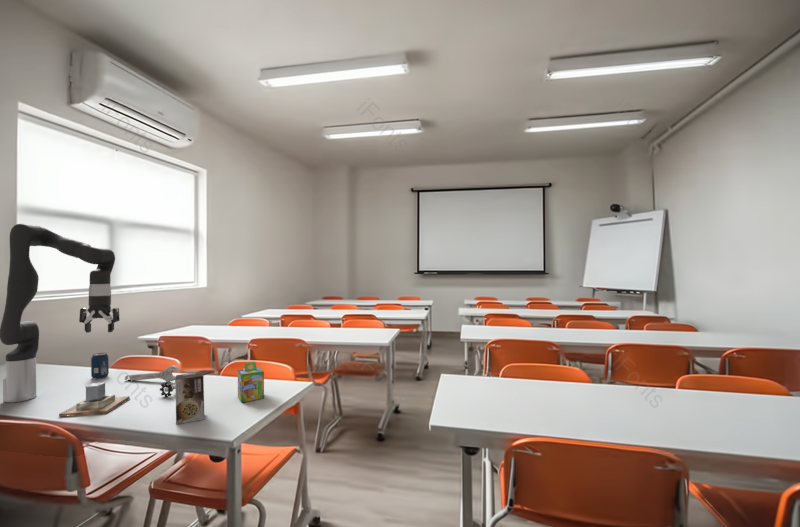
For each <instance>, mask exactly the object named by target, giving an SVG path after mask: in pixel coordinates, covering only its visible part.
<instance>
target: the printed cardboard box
mask: <svg viewBox="0 0 800 527" xmlns="http://www.w3.org/2000/svg"><path fill="white" fill-rule="evenodd" d="M175 376H176V378H175V380H174V385H175V389H174V390H175V391H174V392H175V425H182V424H185V423H191V422H197V421H201V420H205V388H204V387H205V386H204V382H205V381H204V375H203V372H199V371H197V372H190V373H182V374H176V375H175Z"/></svg>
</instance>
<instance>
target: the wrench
mask: <svg viewBox="0 0 800 527" xmlns="http://www.w3.org/2000/svg"><path fill="white" fill-rule="evenodd" d="M180 370H181V369H180V368H179V367H178V366H177V365H170V366H168V367H166V368H164V369H163V370H162V371H156V372H145V373H143V372H142V373H133V374H128V375H125V376H124V381H125V380H127V379H129V380H136V381H143V380H145V381H146V380H152V379H160V380H163V381H165V382H168V384H169V383H171V382H173V381H174V382H175V378H176V375H173V372H177V373H178V372H180Z"/></svg>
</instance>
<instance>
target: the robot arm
mask: <svg viewBox="0 0 800 527" xmlns="http://www.w3.org/2000/svg"><path fill="white" fill-rule="evenodd" d="M31 247H48V248H53V249H55V250H57V251H59V252H60V253H62V254H64V255H67V256H69V257H73V258H76V259H80V260H81V261H83V262H85V263H88V264H91V265H97V266H96V269H93V270H91V271H90V272H89V286H88V308H87V307H82V308H80V310H79V320H78V322H79V323H82V324H84V331H85V333H86V334H87V333H91V332H92V322H93V320H94V319H104V320H106V321H107V323H108V324H107V333H112V332H114V330H115V324H116V323H117V322H119V321H120V308H119V307H113V308H112V307H111V305H112V286H111V274H112V271H113V268H114V265H115V262H116V255H115V253H114V251H113V250H112V249H110V248H104V247H95V246H91V245H90V244H89V243H86V242H83V241H79V240H76V239H73V238H69V237H66V236H63V235H61V234H58V233H56V232H53V231H52V230H49V229H48V228H46V227H43V226H41V225H37V224H29V223H17V224H14V225H13V226H12V227H11V229H10V232H9V266H8V267H9V269H8V277H7V286H6V297H5V304H4V305H5V306H4V312H3V315H2V320H1V323H0V342H1V343H2V344H3V345H6V346H12V345H14V346H15V345H17V346H16V347H15V348H14V349H13V350H11V351H9V352H7V353H6V355H5V378H4V379H2V403H3V402H4V403H18V402H24V401H28V400H31V399H34V398H36V397H37V353H38V350H39V341H40V329H39V326H38V324H37V322H35V321H32V320H24V321H21V320H22V317H23V313H24V310H25V309H26V307H28V305H29V304H30V303H31V301H32V300H33V299H34V298H35V296H36V295H37V293H38V290H39V289H38V288H39V280H40V279H39V278H40V277H39V274H38V271H37V270H36V268H35V267H34V265H33V263H32V262H31V258H30V248H31ZM110 313H112V314H110ZM88 314H89V315H88ZM87 315H88V316H87Z"/></svg>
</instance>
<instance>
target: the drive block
mask: <svg viewBox="0 0 800 527" xmlns="http://www.w3.org/2000/svg"><path fill="white" fill-rule="evenodd" d="M105 395H106V382H93V383H90V384H89V385H87V386H85V399H86V402H97V401H102V400H104V399H105Z"/></svg>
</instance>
